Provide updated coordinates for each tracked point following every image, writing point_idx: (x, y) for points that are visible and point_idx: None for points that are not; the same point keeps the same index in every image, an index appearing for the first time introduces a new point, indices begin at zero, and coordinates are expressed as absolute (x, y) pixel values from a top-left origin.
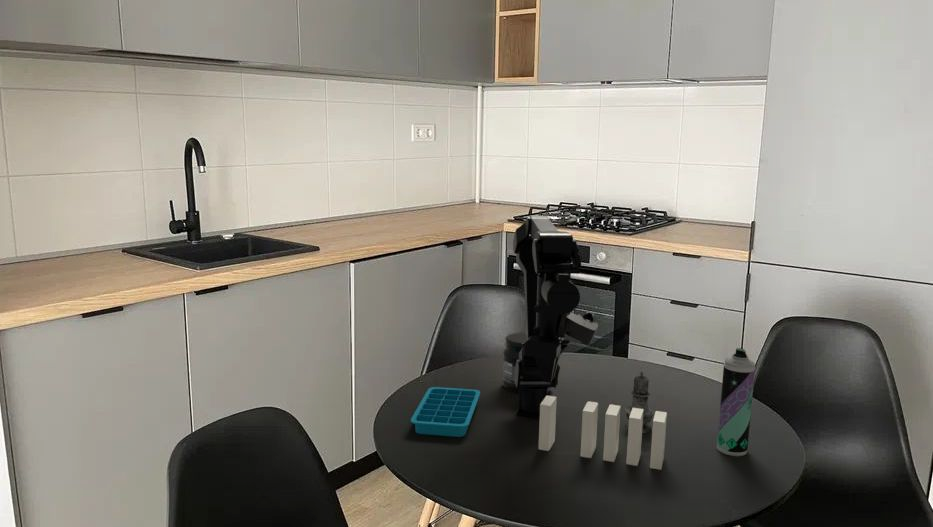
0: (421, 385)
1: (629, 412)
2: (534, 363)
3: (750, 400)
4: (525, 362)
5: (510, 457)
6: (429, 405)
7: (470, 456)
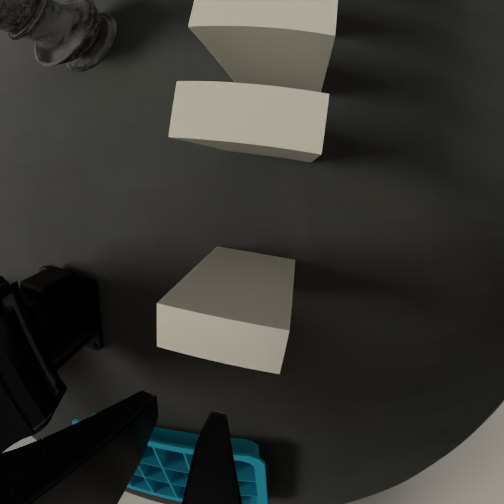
0: None
1: (72, 44)
2: (9, 404)
3: None
4: (24, 432)
5: (351, 352)
6: (176, 491)
7: (353, 421)
